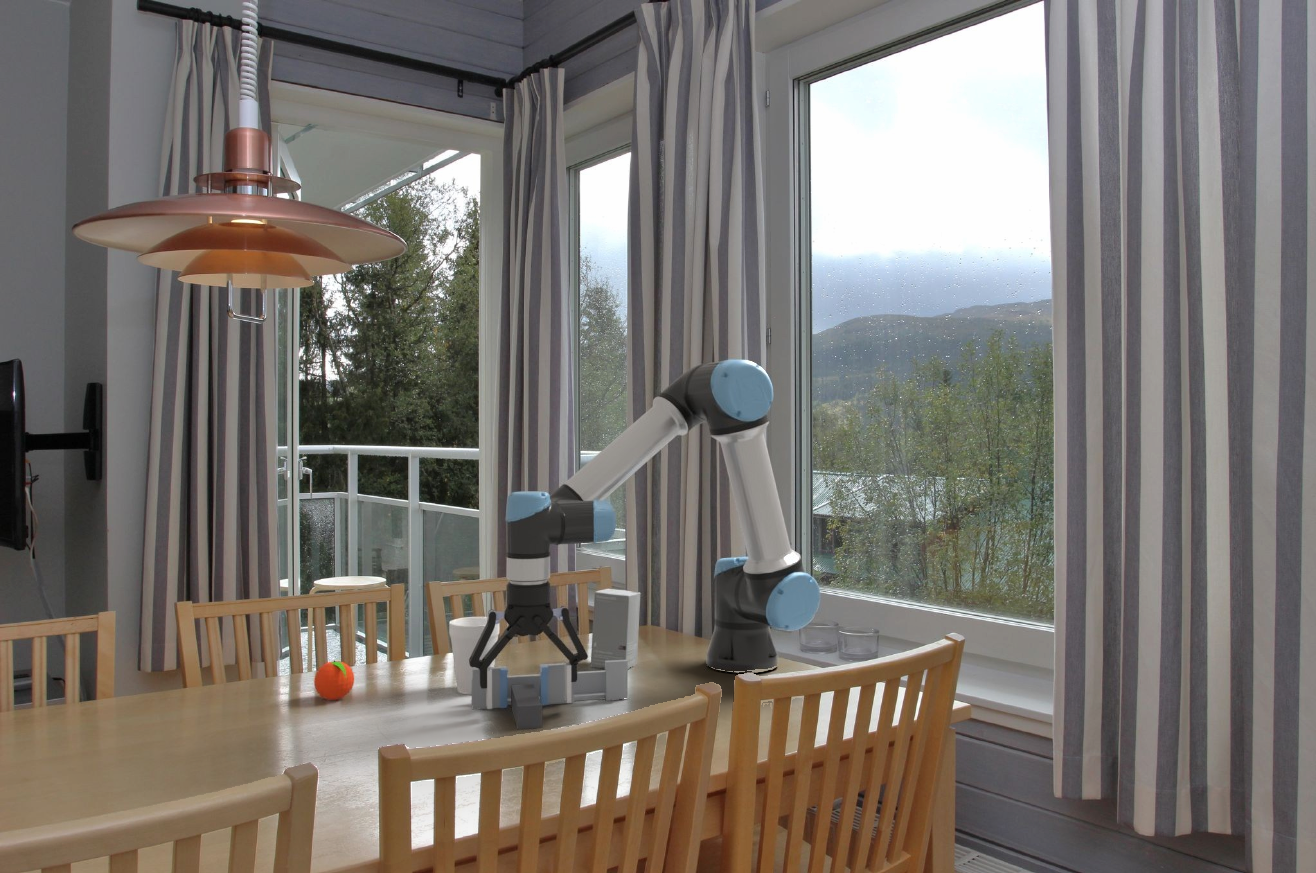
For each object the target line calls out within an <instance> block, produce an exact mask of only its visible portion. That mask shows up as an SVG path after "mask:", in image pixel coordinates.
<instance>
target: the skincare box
mask: <svg viewBox="0 0 1316 873" xmlns="http://www.w3.org/2000/svg"><path fill="white" fill-rule="evenodd" d="M641 594H642V593H641V592H637V591H631V590H626V589H625V590H624V589H614V588H613V589H612V588H605V589H601V590H596V591H594V600H593V603H594V604H593V619H592V634H591V652H590V657H591V658H590V666H591V668H595V667H597V669H605V661H610V660H627V661H628V670H629V669H631V668H633V667H635V666H637V665H636V664H638V647H639V646H638V645H639V644H638V643H639V642H638V641H639V627H640V626H639V625H640V606H641ZM632 666H633V667H632ZM630 667H631V668H630Z"/></svg>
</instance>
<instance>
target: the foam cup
mask: <svg viewBox="0 0 1316 873" xmlns="http://www.w3.org/2000/svg"><path fill="white" fill-rule="evenodd" d="M487 619H488V616H469V617H468V616H467V617H460V618H455V619H452V620H450V621H449V625H448V626H449V629H448V630H449V631H448V632H449V633H448V634H449V637H450V641H451V647H452V648H451V649H452V657H453V665H454V672H455V674H454V675H455V681H456V688H457V693H460V694H463V695H471V691H472V668H475V667H471V666H470V664H469V658H470V656H471V654H472V652H473V650H474V648H475V646H476V644H477V642H478V640H479V638H480V636H481V634H482V632H483V630H484V628H485V626H486V624H487ZM499 634H500V623H499V624H495V627H494V630H493V632H492V634H491V636H490V638H489V640H488V642H487V644H486V646H485V649H484V651H483V653H482V655H481V657H480V660H482V659H483V657H484V656H485V655H486V654H487V653H488V651H489V650H490V649H491V648H492V646H493V645H494V644H495V643H496V641H497V640H498V639H499ZM495 661H496V658H495V659H494V661H493V662H492V663H491V664H490V666H489V667H495Z"/></svg>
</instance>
